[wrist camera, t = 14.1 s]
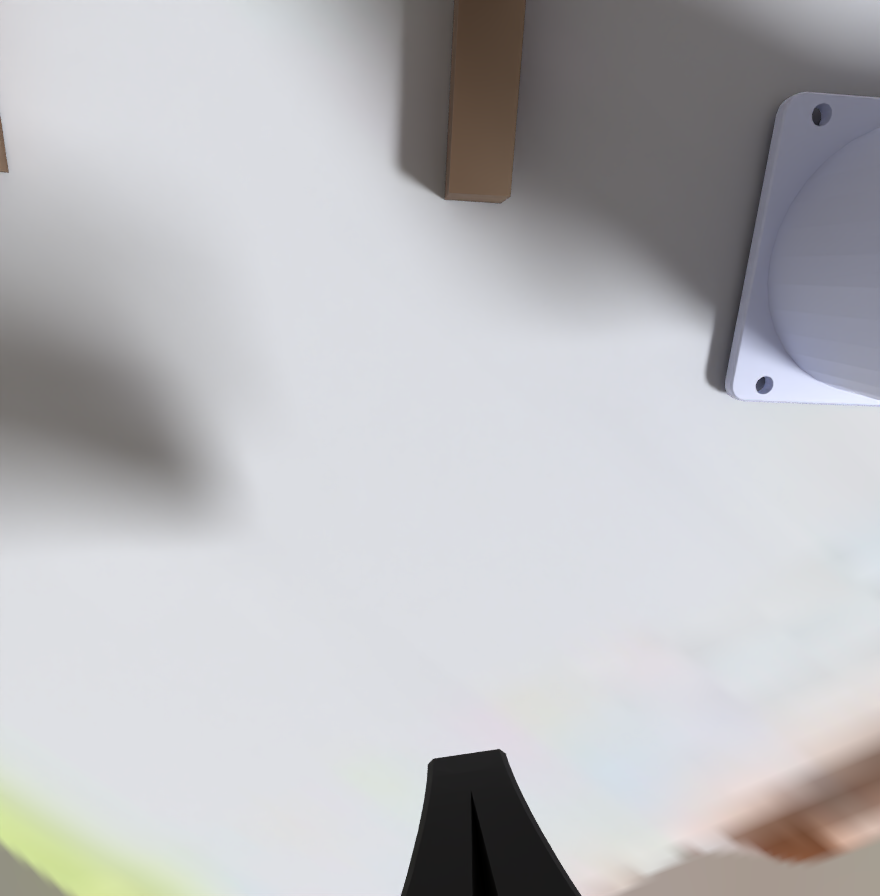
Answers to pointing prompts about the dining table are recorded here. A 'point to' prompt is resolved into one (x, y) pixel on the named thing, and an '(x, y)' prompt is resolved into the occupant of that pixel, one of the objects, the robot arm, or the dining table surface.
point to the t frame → (475, 100)
